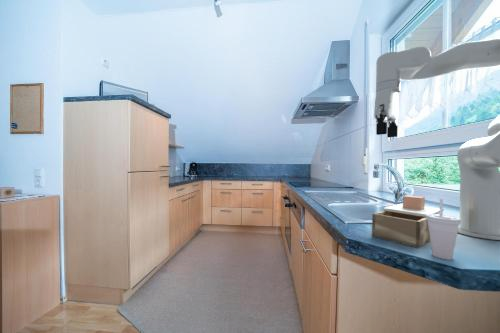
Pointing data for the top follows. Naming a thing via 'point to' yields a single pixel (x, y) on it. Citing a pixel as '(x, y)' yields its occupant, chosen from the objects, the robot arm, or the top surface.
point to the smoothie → (443, 233)
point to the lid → (413, 207)
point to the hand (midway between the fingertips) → (387, 135)
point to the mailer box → (401, 228)
